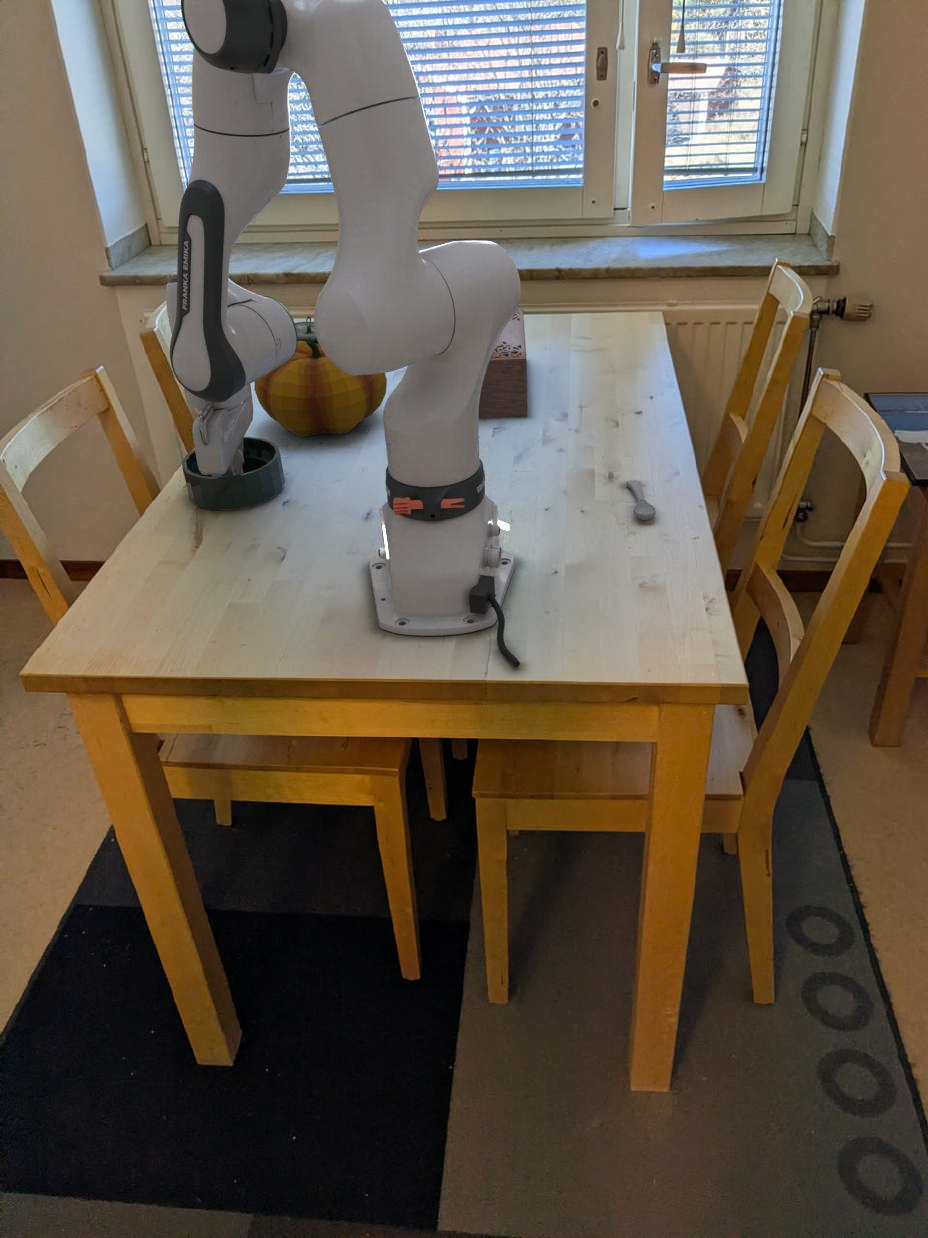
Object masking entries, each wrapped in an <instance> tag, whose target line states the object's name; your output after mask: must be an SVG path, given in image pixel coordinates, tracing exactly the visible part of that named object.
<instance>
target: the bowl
mask: <svg viewBox="0 0 928 1238" xmlns="http://www.w3.org/2000/svg"><path fill="white" fill-rule="evenodd" d="M243 457H244V462H245V463H244V466H243V473H244V474H241V475H235V476H229V477H212V475H203V474H202V473H201V472H200V470H199V468H198V464H197V459H196V453H195V448H194V449H192V450H191V451H190V452H188V453H187V454H186V455H185V456H184V458H183V459H182V461H181V467H182V472H183V477H184V480H185V485H186V490H187V493H188V497H189V500H190V501H191V502H192V503H193V504H194V505H195V506H199V507H201V508H204V509H209V510H215V511H229V510H232V511H233V510H239V509H243V508H249V507H252V506H256V505H258V504H261V503H265V502H267V501H269V500H270V499H272V498H273V497H274V498H275V496H277V495H278V494H279V493H280V492H281V491H283V488H284V486H285V483H286V478H285V473H284V467H283V462H282V455H281V451H280V448H279V446H278V445H277V444H276V443H275V442H274V441H272V440H269V439H267V438H262V437H255V436H244V437H243Z"/></svg>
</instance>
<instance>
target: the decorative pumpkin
mask: <svg viewBox="0 0 928 1238" xmlns="http://www.w3.org/2000/svg"><path fill="white" fill-rule="evenodd" d="M253 383H254V385H253V386H254V392H255V395H256V398H257V400H258V402H259V405H260V406H261V408H262V410H263V411H265V413H266V414H267V415H268V416H269V418H271V419H273V420H275V421H276V422H277V423H279V425H281V426H282V427H283V428H284V429H286V430H288V431H290V432H291V433H293V434H295V435H296V436H298V437H309V436H311V437H312V436H317V435H320V434H333V435H335V434H337V435H338V434H340V435H341V434H347V433H348V432H350V431H351V430H353V429H354V428H356V427H357V426H358V424H360V422H361V421H364V420H366V419H368V418H369V417H370V416H372V415H373V414H374V413H375V412H376V411H377V410H378V409H379V408H380V406H381V405H382V403H383V401H384V399H385V396H386V394H387V386H388V378H387V376H386V372H385V373H378V374H368V375H355V376H354V375H349V374H346V373H344V372H343V371H341V370H340V369H338V368H337V367H336V366H335V365H334V364H333V363H332V362H331V361H330V360H329V359H328V358H327V357H326V355H325V354H324V352H323V351H322V349H321V347H320V345H319V343H316V341H313V340H312V339H311V338H310V339H307V340H298V342H297V349H296V352H295V354H294V356H293V357H292V358H291V359H290V360H288V361H287V362H286V363H285V364H283V365H281V366H280V367H278V368H276V369H275V370H273V371H271V372H269V373H268V374H267V375H265V376H263V377H261V378H260V379H258V380H256V381H254V382H253Z"/></svg>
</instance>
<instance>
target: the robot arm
mask: <svg viewBox="0 0 928 1238" xmlns="http://www.w3.org/2000/svg"><path fill="white" fill-rule="evenodd" d="M180 12H181V17H182V22H183V26H184V29H185V31H186V34H187V37H188V39H189V41H190V43H191V44H192V46H193V51H192V52H193V53H192V66H191V67H192V68H191V108H192V121H193V122H192V123H193V152H192V163H191V169H190V173H189V178H188V182H187V186H186V189H185V191H184V193H183V195H182V198H181V202H180V205H179V214H178V215H179V216H178V228H177V263H176V264H177V265H176V266H177V267H176V275H174V276H171V278H170V279H169V281H167V284H166V289H165V304H166V313H167V319H168V324H169V328H170V332H171V337H170V338H171V339H170V345H169V359H170V365H171V369H172V372H173V374H174V376H175V379H177V381H178V383H179V384H180V385H181V386H182V387H183V391H184V395H185V399H186V403H187V404H188V406H189V407H192V408H193V409H197V411H198V413H197V416H196V418H195V419H194V421H193V423H192V439H193V446H194V449H195V453H196V459H197V464H198V468H199V470H200V472H201V473H202V474H203V475H220V474H221V475H222V477H229V476H235V475H236V469H233V466H232V462H233V461H232V459H233V457H234V455H235V453H236V451H237V449H239V450H240V451H241V452H242V455H243V437H246V436H245V435H246V434H247V431H248V430H249V427H250V426H251V423H252V422H253V420H254V401H253V394H252V393H253V392H252V386H251V385H252V383H254V381H256V380H258V379H260V378H261V377H263V376H265V375H267V374H268V373H269V372H271V371H273V370H275V369H276V368H278V367H280V366H281V365H283V364H285V363H286V362H287V361H288V360H290V359H291V358H292V357H293V356H294V354H295V352H296V349H297V342H298V341H299V339H298V336H297V329H296V326H295V323H296V322H295V320H294V317H293V316H292V314H291V313H290V311H289V310H288V309H287V307H286V306H285V305H284V304H283V303H281V302H280V301H278V300H277V299H275V298H273V297H272V296H268V295H260V294H257V293H255V292H252V291H251V290H248V289H246V288H244V287H242V286H240V285H239V284H237V283H235V282H234V281H233V280H232V279H230V277H229V275H230V274H229V273H230V262H231V258H232V257H231V256H232V253H233V250H234V248H235V246H236V243H237V241H238V240H239V238H240V237H241V235H242V233H243V232H244V231H245V230H246V228H247V227H248V226H249V225H250V224H251V222H253V220H255V218H256V217H257V216H258V215H259V214H260V213H261V212H262V211H264V210H265V209H266V208H267V207H268V206H269V205H270V204H271V203H273V202H274V200H276V198H277V197H278V196H279V194H280V193H281V192H282V190H283V188H285V186H286V184H287V181H288V176H289V172H290V165H291V159H292V135H291V113H290V112H291V111H290V99H289V96H290V95H289V93H290V91H289V90H290V83H291V80H292V78H293V76H294V74H296V75H297V76H298V77H299V78H300V79H301V80H302V82H303V83H304V87H305V89H306V91H307V94H308V97H309V101H310V105H311V109H312V112H313V113H312V114H313V116H314V120H315V124H316V127H317V131H318V135H319V138H320V142H321V145H322V149H323V152H324V156H325V160H326V165H327V167H328V173H329V175H330V181H331V184H332V188H333V194H334V197H335V202H336V210H337V218H338V219H337V221H338V229H337V230H338V233H337V234H338V236H337V237H338V238H337V247H336V252H335V257H334V262H333V265H332V268H331V271H330V273H329V276H328V279H327V281H326V282H325V283H324V286H323V287H322V289H321V290H320V292H319V294H318V296H317V299H316V302H315V306H314V312H313V322H314V328H315V333H316V337H317V340H316V341H317V342H318V343H317V344H319V345H320V347H321V349H322V351H323V352H324V354H325V355H326V357H327V358H328V359H329V360H330V361H331V362H332V363H333V364H334V365H335V366H336V367H337V368H338V369H340V370H341V371H343V372H344V373H346V374H349V375H354V376H355V375H368V374H378V373H385V374H386V373H391V372H395V371H397V370H400V369H403V368H405V367H406V370H405V371H404V374H403V376H402V378H401V379H400V381H399V383H398V384H397V385H396V387H395V388H394V389H393V390H392V392H391V393H390V395H389V396H388V397H387V400H386V402H385V405H384V407H383V414H382V423H383V431H384V440H385V441H384V442H385V448H386V449H385V450H386V457H387V466H386V468H385V481H384V482H385V483H384V484H385V492H386V497H387V501H386V502H385V503H384V504H383V505H382V506H381V507H380V508H379V509H378V510H379V517H380V527H381V535H382V542H383V546H381V547H379V548H378V550H377V551H378V555H376V556H374V557H372V558H371V559H370V560H369V562H368V569H369V577H370V583H371V588H372V593H373V601H374V606H375V612H376V618H377V624H378V627H379V628H380V629H381V630H383V631H386V632H390V633H394V634H399V635H406V636H421V637H423V636H424V637H425V636H452V635H461V634H467V633H473V632H478V631H481V630H484V629H486V628H490V627H492V626H494V625H495V624H496V622H497V631H496V643H497V646H498V649H499V651H500V652H501V653H502V655H503V656H504V657H505V658H506V659H507V660H508V661H509V662H510V663H511V664H512V665H513V666H514V667H515V668H518V667H519V666H520V665H521V662H520V661H519V660H518V659H517V657H516V656H515V655H514V654H513V653H512V652H511V651H510V650H509V649H508V647H507V646H506V644H505V640H504V634H505V633H504V632H505V627H506V626H505V625H506V623H505V622H506V621H505V619H506V618H505V614H504V612H503V609H502V606H503V603H504V600H505V597H506V594H507V591H508V588H509V586H510V582H511V580H512V576H513V573H514V571H515V568H516V565H517V562H516V556H515V554H513V553H512V552H509V551H507V550H504V549H502V547H501V539H500V538H501V537H500V535H501V529H502V530H505V531H507V532H508V531H510V524H509V523H507V522H504V521H502V520H499V509H498V504H497V503H495V501H493V500H492V499H491V498H489V496H487V494H486V473H485V469H484V463H483V461H482V459H481V458H480V435H479V434H480V433H479V432H480V431H479V428H480V427H479V425H480V422H479V401H480V394H481V389H482V384H483V380H484V376H485V373H486V370H487V366H488V363H489V360H490V357H491V355H492V352H493V349H494V347H495V345H496V342H497V340H498V339H499V337H500V335H501V333H502V331H503V330H504V328H505V327H506V325H507V324H508V323H509V321H510V320H511V319H512V317H513V316H514V315H515V313H516V311H517V309H519V306H520V301H521V295H522V287H521V286H522V285H521V277H520V274H519V271H518V268H517V266H516V263H515V261H514V259H513V258H512V257H511V255H510V254H509V253H508V252H507V250H505V248H504V247H503V246H501V245H500V244H498V243H496V242H493V241H490V240H453V241H449V242H446V243H443V244H440V245H436V246H432V247H429V248H425V249H421V250H420V249H419V240H418V237H419V236H418V235H419V234H418V231H419V223H420V219H421V218H420V217H421V214H422V211H423V209H424V208H425V207H426V206H427V204H428V203H429V202H430V201H431V199H433V197H434V196H435V193H436V191H437V189H438V186H439V181H440V169H439V165H438V162H437V157H436V153H435V148H434V145H433V140H432V137H431V133H430V130H429V129H430V128H429V125H428V121H427V117H426V114H425V109H424V105H423V102H422V97H421V94H420V90H419V86H418V83H417V80H416V75H415V72H414V71H413V67H412V63H411V60H410V58H409V54H408V52H407V50H406V47H405V45H404V42H403V40H402V37H401V34H400V32H399V29H398V27H397V25H396V23H395V19H394V18H393V16H392V14H391V11H390V10H389V8H388V6H387V5H386V4H385V2H384V1H383V0H180ZM244 463H245V462H244V457H243V464H242V468H243V466H244Z"/></svg>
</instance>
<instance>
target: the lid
mask: <svg viewBox="0 0 928 1238" xmlns="http://www.w3.org/2000/svg"><path fill="white" fill-rule="evenodd" d="M294 323H295V326H296V329H297V336H298V340H299V341H307V339H310V338H311V339H312V340H313V341H314V342H317V341H318V340H317V337H316V333H315V328H314V321H312V317H311V316H310V315H307V317H306V320H305V321H299V322H294Z"/></svg>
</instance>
